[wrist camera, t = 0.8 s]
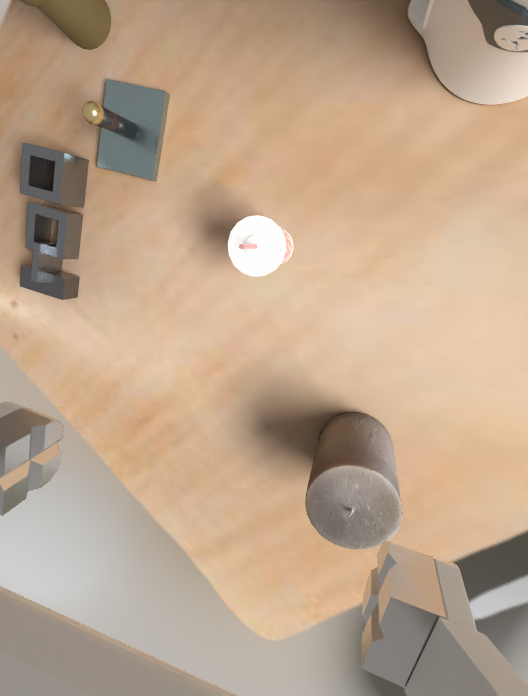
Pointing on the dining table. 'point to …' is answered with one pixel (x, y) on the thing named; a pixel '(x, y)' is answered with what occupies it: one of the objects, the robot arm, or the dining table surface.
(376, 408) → the dining table surface
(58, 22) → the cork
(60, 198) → the end link
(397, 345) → the dining table surface
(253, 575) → the dining table surface
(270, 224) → the beverage cup
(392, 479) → the pillar candle
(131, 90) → the grey plate with post
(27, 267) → the chain tail
